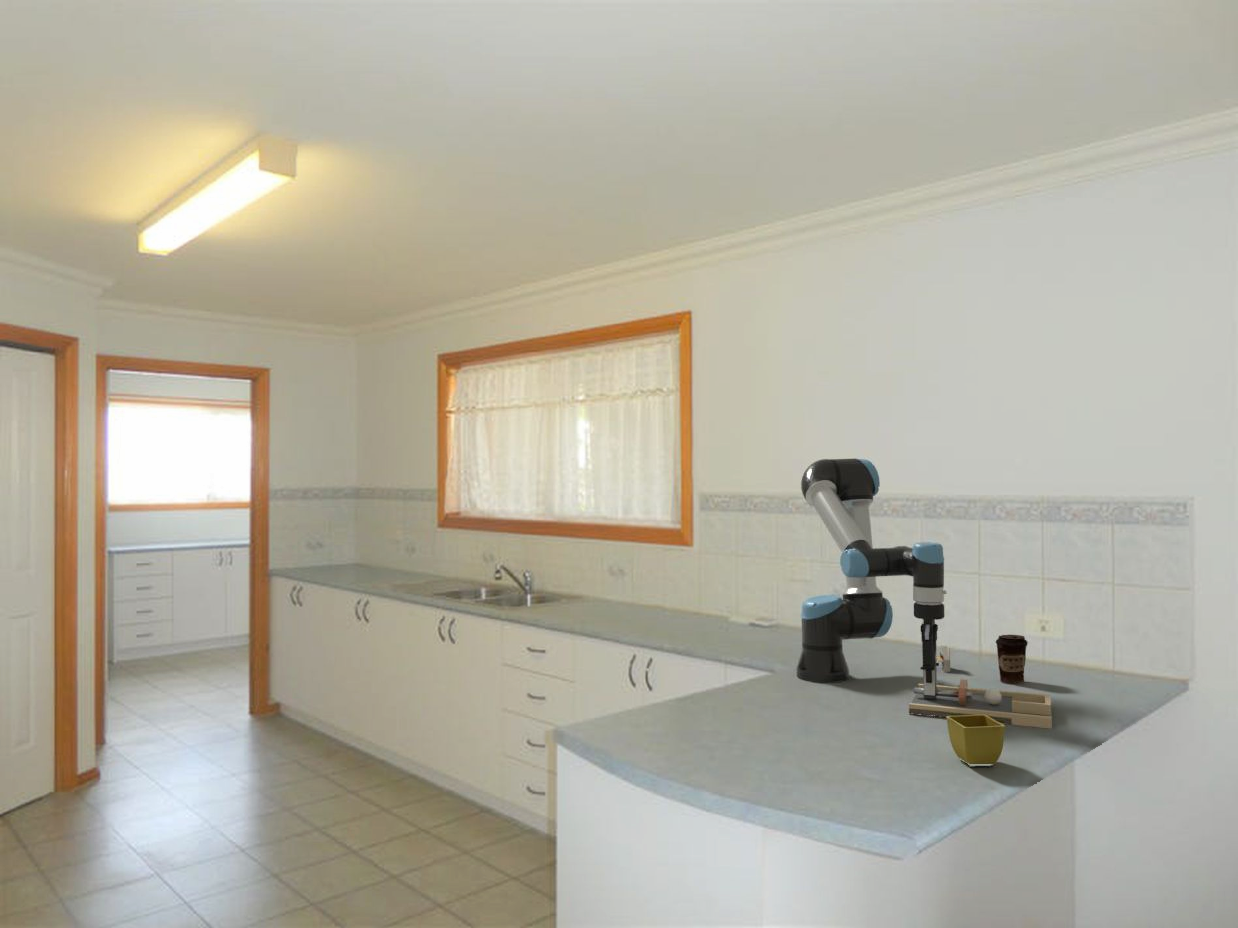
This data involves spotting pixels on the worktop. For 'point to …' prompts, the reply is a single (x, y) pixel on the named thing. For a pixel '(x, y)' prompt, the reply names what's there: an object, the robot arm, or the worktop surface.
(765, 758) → the worktop surface
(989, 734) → the flower pot
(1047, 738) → the worktop surface
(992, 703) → the ball
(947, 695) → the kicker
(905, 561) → the robot arm
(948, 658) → the architectural model
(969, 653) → the worktop surface
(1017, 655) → the coffee cup
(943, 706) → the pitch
